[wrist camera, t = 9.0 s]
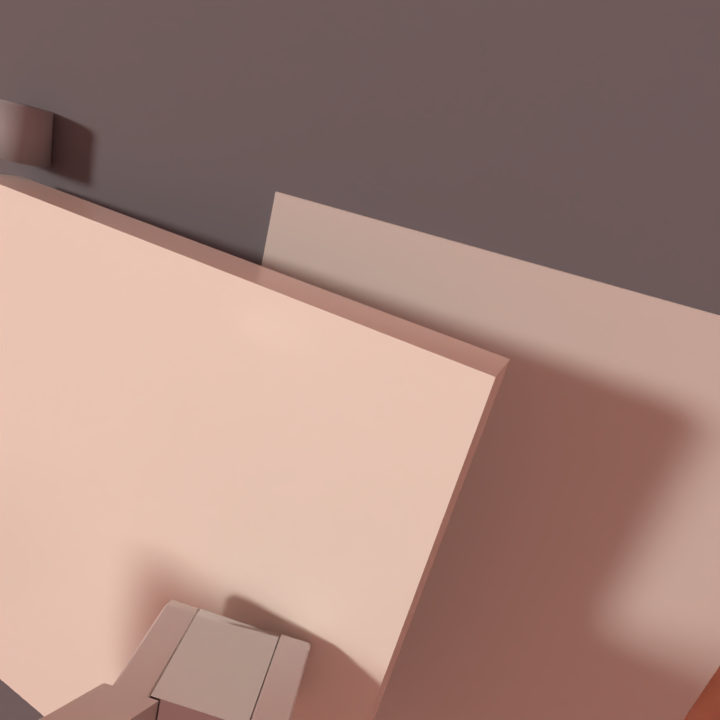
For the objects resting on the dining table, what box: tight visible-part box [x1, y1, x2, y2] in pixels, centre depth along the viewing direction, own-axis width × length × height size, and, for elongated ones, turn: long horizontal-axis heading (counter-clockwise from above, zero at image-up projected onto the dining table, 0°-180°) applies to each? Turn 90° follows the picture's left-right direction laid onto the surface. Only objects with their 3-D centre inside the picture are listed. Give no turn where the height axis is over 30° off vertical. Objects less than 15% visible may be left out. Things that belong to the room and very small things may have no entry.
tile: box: [0, 174, 510, 720], centre depth 11 cm, size 12×1×10 cm
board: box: [0, 0, 720, 720], centre depth 13 cm, size 24×22×2 cm
